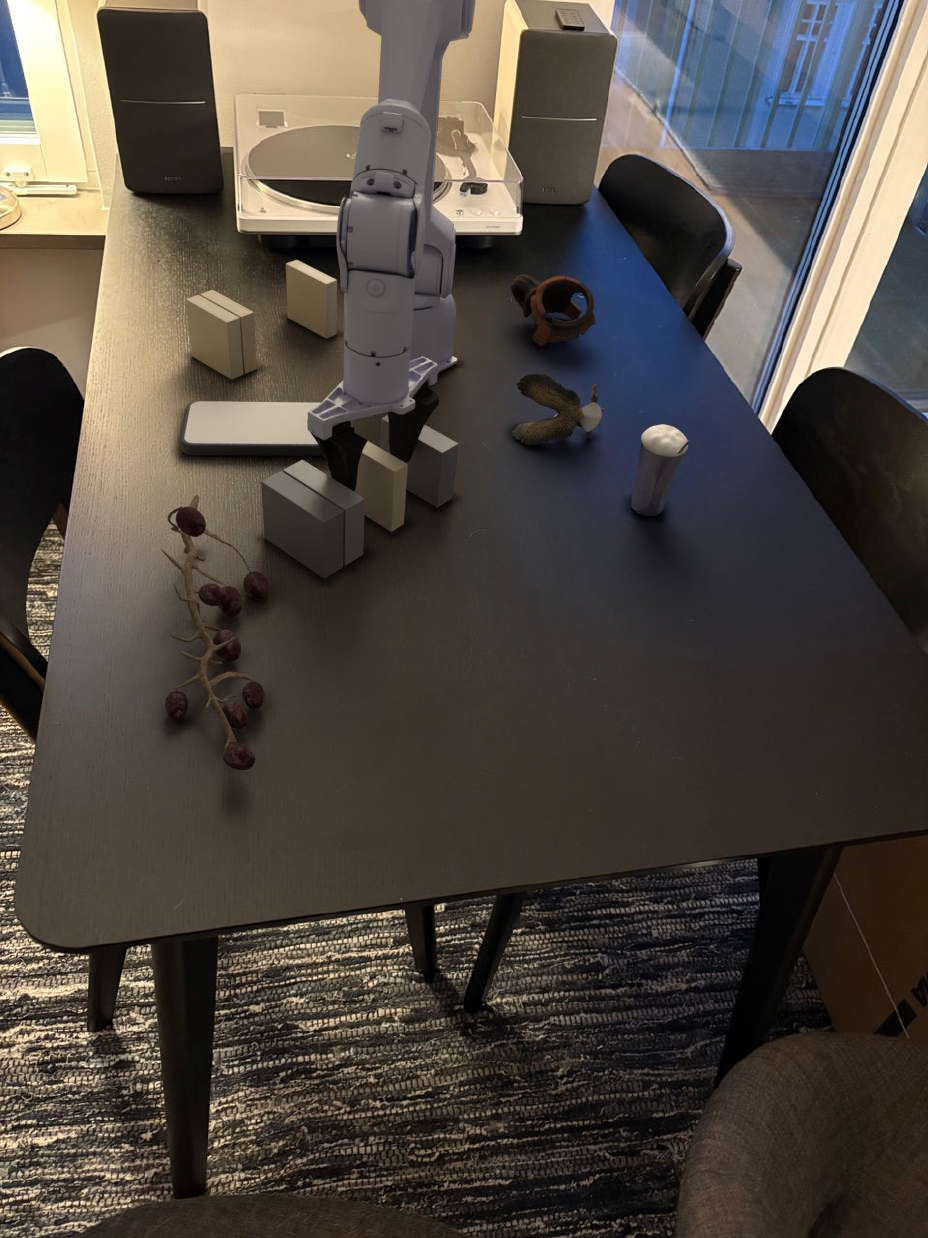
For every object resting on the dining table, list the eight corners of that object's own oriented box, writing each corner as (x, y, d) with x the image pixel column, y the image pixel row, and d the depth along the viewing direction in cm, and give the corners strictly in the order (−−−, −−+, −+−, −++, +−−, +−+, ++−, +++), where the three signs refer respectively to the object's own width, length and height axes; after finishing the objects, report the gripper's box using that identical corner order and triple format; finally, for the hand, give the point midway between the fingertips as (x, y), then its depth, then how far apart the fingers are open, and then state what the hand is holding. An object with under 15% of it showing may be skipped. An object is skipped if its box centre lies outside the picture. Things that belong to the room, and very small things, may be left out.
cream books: (298, 313, 122) (296, 259, 117) (337, 334, 119) (337, 279, 114) (191, 355, 112) (185, 298, 108) (231, 379, 109) (226, 322, 105)
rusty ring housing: (599, 327, 128) (614, 290, 120) (563, 380, 126) (577, 346, 118) (521, 281, 129) (531, 241, 121) (485, 333, 126) (492, 296, 118)
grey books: (394, 463, 101) (397, 409, 96) (452, 497, 97) (458, 443, 93) (264, 538, 90) (260, 481, 86) (324, 579, 87) (323, 522, 82)
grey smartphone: (180, 459, 98) (339, 459, 100) (178, 445, 97) (338, 446, 99) (188, 411, 105) (338, 413, 106) (187, 398, 103) (338, 400, 105)
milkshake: (645, 529, 97) (669, 445, 90) (615, 499, 100) (636, 415, 93) (681, 519, 98) (708, 436, 92) (651, 490, 102) (674, 407, 95)
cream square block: (352, 491, 97) (353, 432, 92) (404, 524, 94) (408, 464, 89) (339, 499, 96) (339, 439, 91) (391, 532, 93) (394, 471, 88)
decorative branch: (259, 732, 65) (139, 426, 79) (192, 804, 70) (90, 502, 84) (379, 732, 74) (252, 456, 88) (312, 796, 78) (201, 523, 92)
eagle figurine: (581, 399, 111) (508, 387, 108) (610, 371, 105) (533, 357, 102) (582, 462, 109) (508, 451, 107) (612, 437, 103) (534, 425, 100)
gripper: (350, 388, 76) (348, 524, 85) (468, 332, 85) (454, 461, 94) (288, 354, 79) (293, 489, 88) (408, 302, 88) (401, 431, 97)
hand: (372, 472), depth 91 cm, fingers open, 7 cm apart
